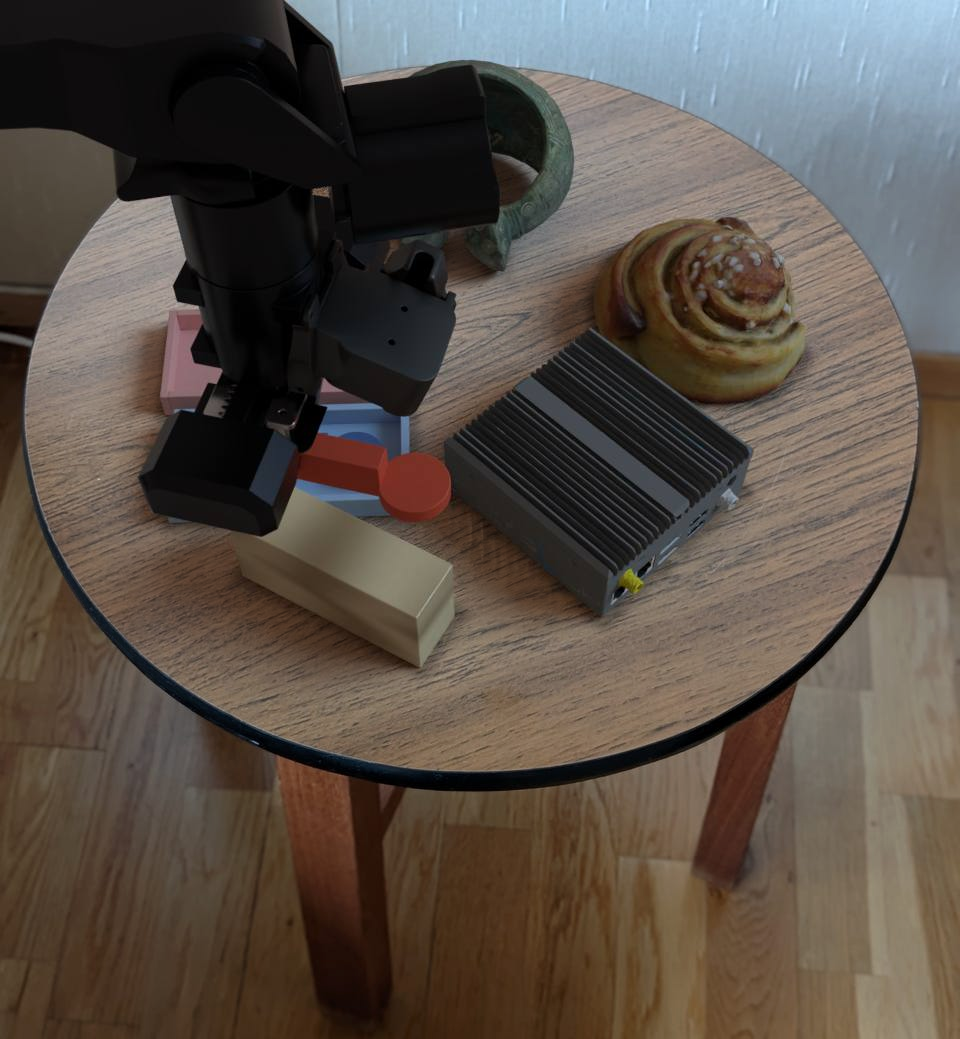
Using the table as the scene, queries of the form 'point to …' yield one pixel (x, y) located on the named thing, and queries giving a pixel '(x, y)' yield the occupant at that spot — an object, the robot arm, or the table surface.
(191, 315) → the rose tray
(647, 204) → the table surface
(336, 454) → the red spoon
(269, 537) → the wooden rectangular block
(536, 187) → the bracelet
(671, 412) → the electronic device
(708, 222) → the pastry
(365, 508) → the blue tray
